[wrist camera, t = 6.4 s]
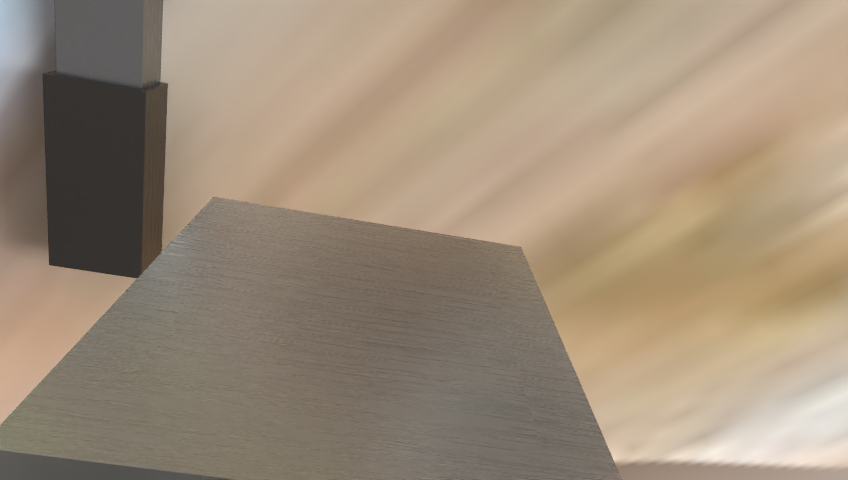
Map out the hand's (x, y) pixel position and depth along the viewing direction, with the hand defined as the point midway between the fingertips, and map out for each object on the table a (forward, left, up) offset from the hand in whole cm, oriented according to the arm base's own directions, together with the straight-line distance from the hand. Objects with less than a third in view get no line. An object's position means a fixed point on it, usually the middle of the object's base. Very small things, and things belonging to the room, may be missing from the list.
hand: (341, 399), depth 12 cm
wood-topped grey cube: (0, 0, -2) cm, 2 cm away
